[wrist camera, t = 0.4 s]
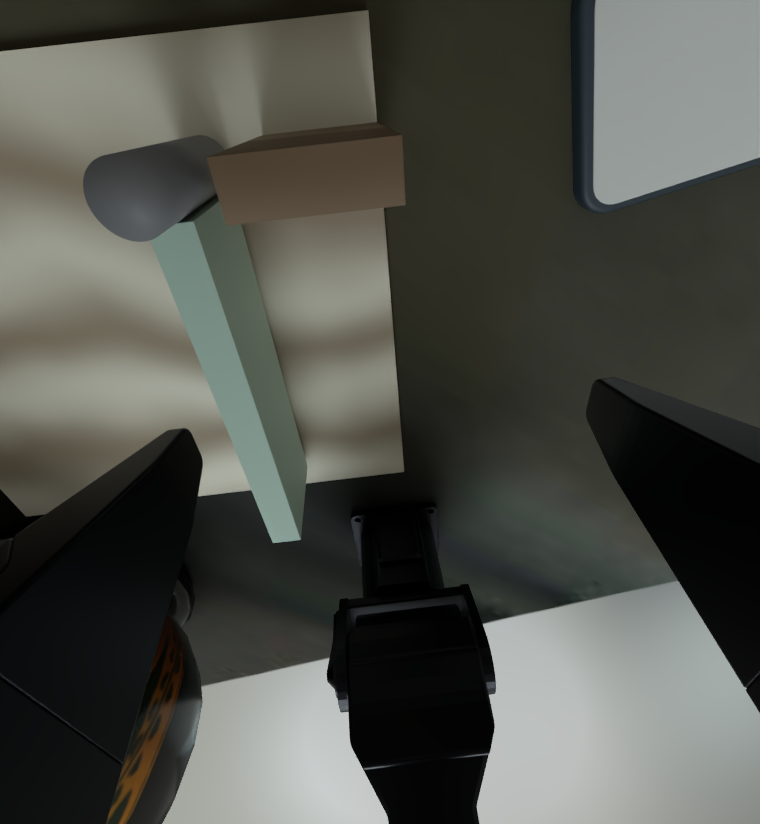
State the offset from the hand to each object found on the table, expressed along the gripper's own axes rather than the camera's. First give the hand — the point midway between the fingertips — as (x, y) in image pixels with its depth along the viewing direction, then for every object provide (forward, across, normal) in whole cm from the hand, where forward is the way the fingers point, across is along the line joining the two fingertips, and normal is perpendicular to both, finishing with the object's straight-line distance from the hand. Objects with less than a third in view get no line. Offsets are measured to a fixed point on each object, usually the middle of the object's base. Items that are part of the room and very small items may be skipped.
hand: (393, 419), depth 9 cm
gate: (+12, +6, +3) cm, 14 cm away
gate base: (+13, +12, +3) cm, 18 cm away
